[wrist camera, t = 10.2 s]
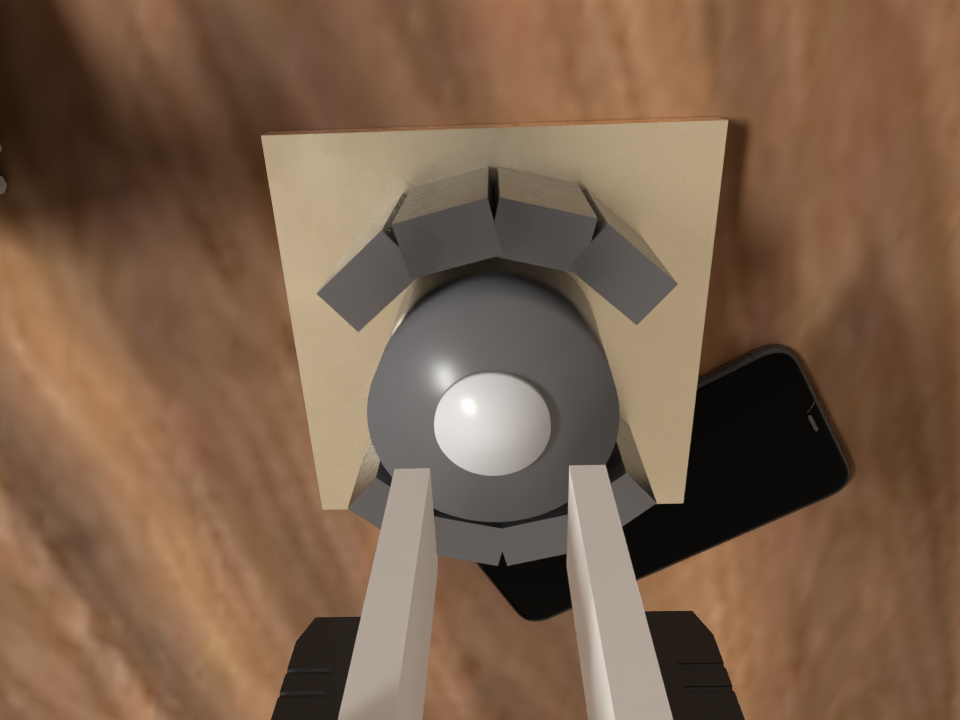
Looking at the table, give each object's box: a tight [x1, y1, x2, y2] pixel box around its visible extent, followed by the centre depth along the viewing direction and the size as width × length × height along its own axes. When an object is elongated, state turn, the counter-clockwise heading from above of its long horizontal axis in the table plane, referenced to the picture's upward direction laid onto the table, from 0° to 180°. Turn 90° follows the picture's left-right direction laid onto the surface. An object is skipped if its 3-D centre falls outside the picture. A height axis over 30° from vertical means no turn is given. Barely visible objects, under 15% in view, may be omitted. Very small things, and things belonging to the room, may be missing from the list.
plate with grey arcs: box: [261, 117, 728, 566], centre depth 22 cm, size 14×14×6 cm
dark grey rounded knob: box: [367, 257, 620, 522], centre depth 21 cm, size 7×7×5 cm
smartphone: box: [476, 344, 850, 622], centre depth 27 cm, size 7×1×15 cm
